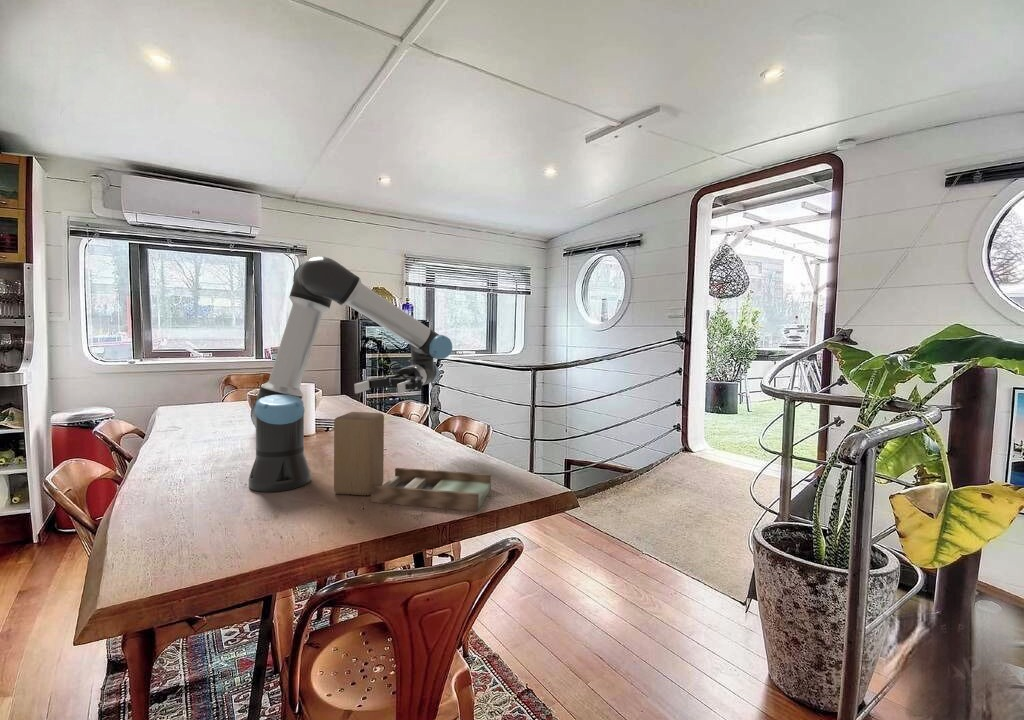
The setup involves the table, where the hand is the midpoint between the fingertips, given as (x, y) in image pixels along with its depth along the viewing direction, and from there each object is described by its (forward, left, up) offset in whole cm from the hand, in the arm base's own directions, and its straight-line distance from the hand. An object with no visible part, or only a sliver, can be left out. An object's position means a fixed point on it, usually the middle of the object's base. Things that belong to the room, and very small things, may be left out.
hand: (376, 388), depth 130 cm
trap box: (+20, -10, -26) cm, 34 cm away
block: (0, -10, -26) cm, 28 cm away
